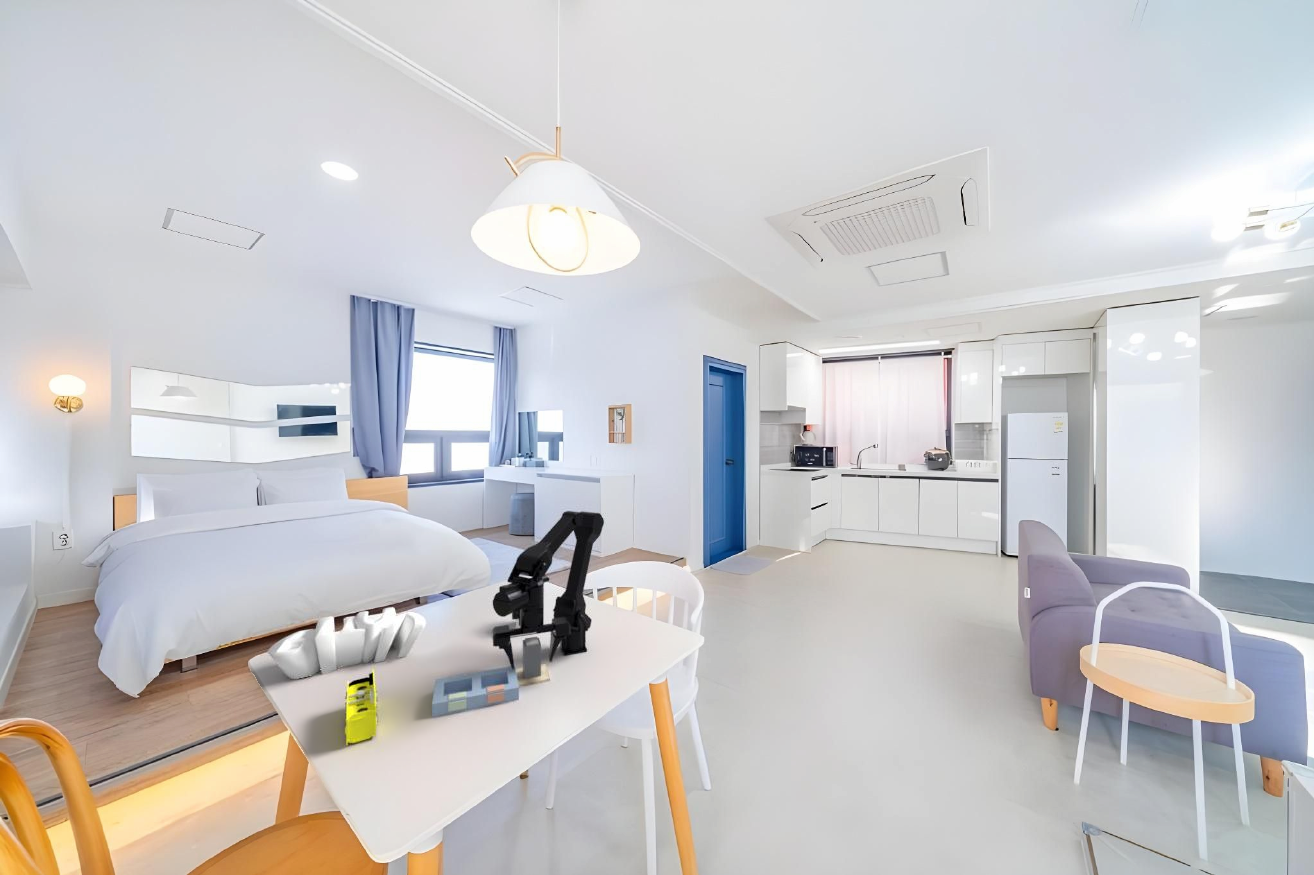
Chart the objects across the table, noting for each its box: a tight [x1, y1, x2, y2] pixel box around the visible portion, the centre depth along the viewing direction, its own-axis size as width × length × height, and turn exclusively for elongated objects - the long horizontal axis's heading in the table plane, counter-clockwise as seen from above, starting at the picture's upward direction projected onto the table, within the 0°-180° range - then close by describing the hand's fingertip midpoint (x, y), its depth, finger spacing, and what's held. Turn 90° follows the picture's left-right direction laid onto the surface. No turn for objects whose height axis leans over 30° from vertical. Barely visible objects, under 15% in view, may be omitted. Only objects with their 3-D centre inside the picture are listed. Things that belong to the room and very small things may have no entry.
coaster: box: [515, 663, 551, 688], centre depth 116 cm, size 8×8×1 cm
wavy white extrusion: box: [267, 606, 427, 680], centre depth 125 cm, size 35×16×11 cm, turn 116°
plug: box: [522, 636, 542, 679], centre depth 116 cm, size 4×4×9 cm
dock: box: [431, 664, 520, 719], centre depth 107 cm, size 18×11×3 cm, turn 112°
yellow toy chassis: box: [344, 668, 379, 746], centre depth 97 cm, size 16×6×8 cm, turn 33°
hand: (531, 664), depth 116 cm, fingers open, 9 cm apart
